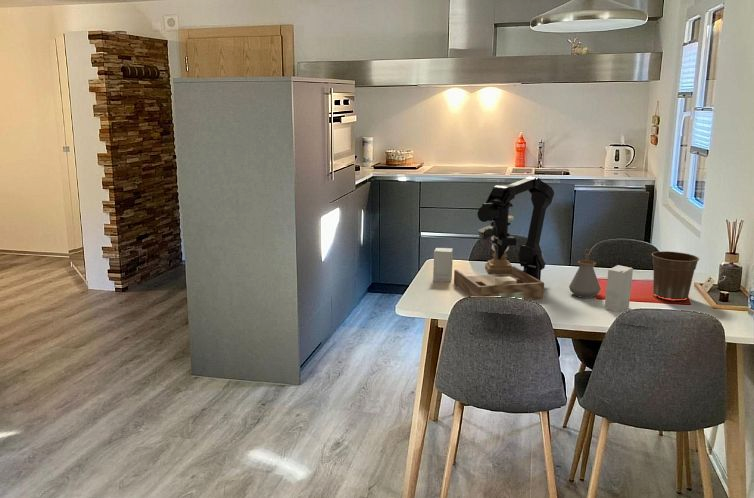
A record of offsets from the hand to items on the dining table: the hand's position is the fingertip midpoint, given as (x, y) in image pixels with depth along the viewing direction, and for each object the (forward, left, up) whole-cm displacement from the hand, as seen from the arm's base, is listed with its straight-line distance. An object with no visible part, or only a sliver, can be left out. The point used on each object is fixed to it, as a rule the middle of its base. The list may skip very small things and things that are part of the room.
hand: (498, 259), depth 256 cm
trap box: (0, -1, -13) cm, 13 cm away
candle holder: (-14, -31, -13) cm, 36 cm away
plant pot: (-61, +21, -13) cm, 66 cm away
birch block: (0, +8, -10) cm, 12 cm away
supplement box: (+15, -22, -13) cm, 29 cm away
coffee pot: (-33, +7, -13) cm, 36 cm away
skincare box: (-33, +29, -13) cm, 46 cm away
